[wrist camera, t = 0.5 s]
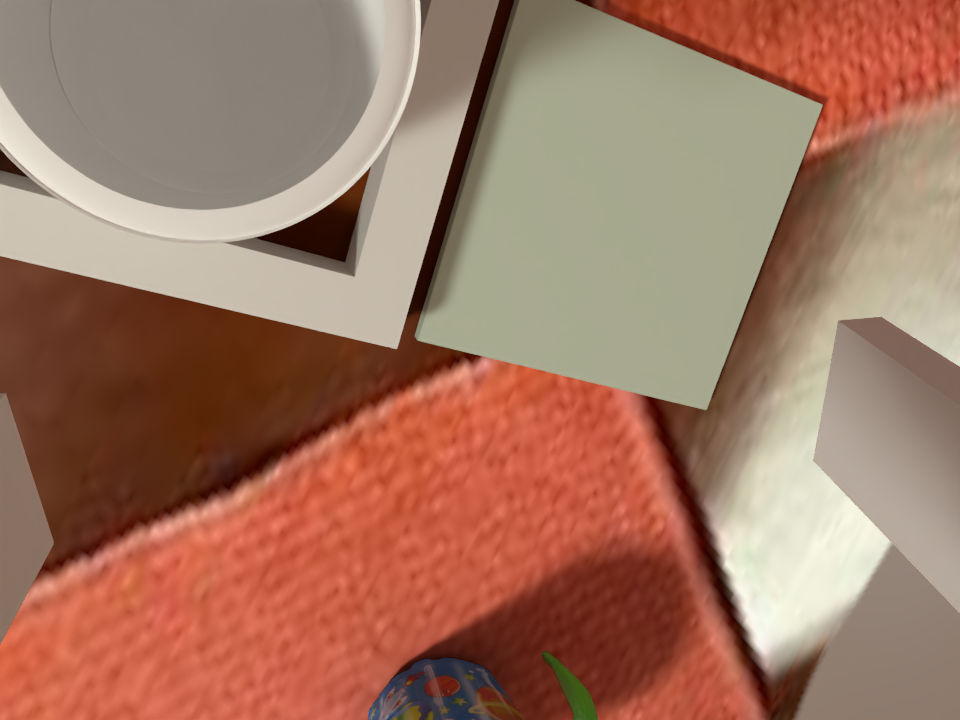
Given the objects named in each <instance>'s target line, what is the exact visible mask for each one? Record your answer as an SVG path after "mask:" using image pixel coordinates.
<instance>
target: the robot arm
mask: <svg viewBox="0 0 960 720" xmlns="http://www.w3.org/2000/svg"><path fill="white" fill-rule="evenodd" d="M813 461H814V462H815V463H816V464H817V465H818V466H819V467H820V468H821V469H822V470H823V471H824V472H825V473H826V474H827V475H828V476H829V477H830V479H831V480H832V481H833V482H834V483H835V484H836V485H837V486H838V487H839V488H840V489H841V490H842V491H843V492H844V493H845V494H846V495H847V496H848V497H849V498H850V499H851V500H852V501H853V502H854V504H855V505H856V506H857V507H858V508H859V509H860V510H861V511H862V512H863V513H864V514H865V515H866V516H867V517H868V518H869V519H870V520H871V521H872V522H873V523H874V524H875V525H876V526H877V527H878V528H879V530H880V531H881V532H882V533H883V534H884V535H885V536H886V537H887V538H888V539H889V540H890V541H891V542H892V543H893V544H894V545H895V546H896V547H897V548H898V549H899V550H900V551H901V552H902V553H903V555H904V556H905V557H906V558H907V559H908V560H909V561H910V562H911V563H912V564H913V565H914V566H915V567H916V568H917V569H918V570H919V571H920V572H921V573H922V574H923V575H924V576H925V577H926V578H927V580H929V582H930V583H931V584H932V585H933V586H934V587H935V588H936V589H937V590H938V591H939V592H940V593H941V594H942V595H943V596H944V597H945V598H946V599H947V600H948V601H949V602H950V603H951V604H952V606H953V607H954V608H955V609H956V610H957V611H958V612H959V613H960V367H959V366H957V365H956V364H954V363H953V362H951V361H950V360H948V359H946V358H945V357H943V356H942V355H940V354H939V353H937V352H935V351H934V350H932V349H931V348H929V347H928V346H926V345H924V344H923V343H921V342H920V341H918V340H917V339H915V338H913V337H912V336H910V335H909V334H907V333H906V332H904V331H902V330H901V329H899V328H898V327H896V326H895V325H893V324H891V323H890V322H888V321H887V320H885V319H884V318H882V317H875V318H864V319H852V320H841V321H838V326H837V331H836V337H835V343H834V348H833V354H832V359H831V365H830V370H829V376H828V382H827V387H826V393H825V398H824V404H823V409H822V415H821V421H820V426H819V432H818V437H817V443H816V448H815V454H814V459H813ZM53 544H54V541H53V538H52V535H51V532H50V529H49V526H48V523H47V520H46V517H45V514H44V510H43V507H42V504H41V501H40V498H39V495H38V492H37V489H36V486H35V483H34V479H33V476H32V473H31V470H30V467H29V464H28V461H27V458H26V455H25V452H24V449H23V445H22V442H21V439H20V436H19V433H18V430H17V427H16V424H15V421H14V418H13V414H12V411H11V408H10V405H9V402H8V399H7V396H6V393H3V394H0V644H1V642H2V640H3V639H4V637H5V635H6V633H7V631H8V629H9V627H10V625H11V623H12V622H13V620H14V618H15V616H16V614H17V612H18V610H19V608H20V606H21V605H22V603H23V601H24V599H25V597H26V595H27V593H28V591H29V589H30V588H31V586H32V584H33V582H34V580H35V578H36V576H37V574H38V572H39V571H40V569H41V567H42V565H43V563H44V561H45V559H46V557H47V555H48V554H49V552H50V550H51V548H52V546H53Z"/></svg>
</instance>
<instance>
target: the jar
mask: <svg viewBox="0 0 960 720" xmlns="http://www.w3.org/2000/svg"><path fill="white" fill-rule="evenodd" d="M420 34H421V10H420V0H0V149H1V150H2V152H3V153H4V154H5V155H6V156H7V157H8V158H9V159H10V160H11V161H12V162H13V163H14V164H15V165H16V166H17V167H18V168H19V169H20V170H21V171H22V172H24V173H25V174H26V175H27V176H28V177H29V178H30V179H32V180H33V181H34V182H35V183H36V184H38V185H39V186H40V187H42V188H43V189H44V190H46V191H47V192H48V193H50V194H51V195H53V196H54V197H56V198H57V199H59V200H60V201H62V202H63V203H65V204H67V205H68V206H70V207H72V208H73V209H75V210H77V211H79V212H81V213H83V214H85V215H86V216H89V217H91V218H93V219H95V220H97V221H99V222H102V223H104V224H106V225H109V226H112V227H114V228H117V229H120V230H123V231H126V232H129V233H133V234H136V235H140V236H144V237H148V238H153V239H158V240H164V241H171V242H181V243H223V242H232V241H239V240H245V239H250V238H254V237H259V236H262V235H266V234H269V233H272V232H275V231H278V230H281V229H284V228H286V227H289V226H291V225H293V224H296V223H298V222H300V221H302V220H304V219H306V218H308V217H310V216H311V215H313V214H315V213H317V212H318V211H320V210H321V209H323V208H325V207H326V206H328V205H329V204H330V203H332V202H333V201H334V200H336V199H337V198H338V197H340V196H341V195H342V194H343V193H345V192H346V191H347V190H348V189H349V188H350V187H351V186H352V185H353V184H354V183H356V182H357V181H358V180H359V179H360V177H361V176H362V175H363V174H364V173H365V172H366V171H367V170H368V169H369V167H370V166H371V165H372V164H373V162H374V161H375V160H376V159H377V157H378V156H379V155H380V153H381V152H382V150H383V149H384V147H385V146H386V144H387V142H388V141H389V139H390V137H391V136H392V134H393V132H394V130H395V128H396V126H397V124H398V122H399V120H400V118H401V116H402V113H403V111H404V109H405V106H406V103H407V101H408V98H409V95H410V92H411V88H412V85H413V81H414V77H415V72H416V67H417V62H418V55H419V47H420Z"/></svg>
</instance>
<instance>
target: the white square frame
mask: <svg viewBox="0 0 960 720" xmlns="http://www.w3.org/2000/svg"><path fill="white" fill-rule="evenodd" d="M498 3H499V0H420V10H421V34H420V47H419V55H418V62H417V67H416V72H415V77H414V81H413V85H412V88H411V92H410V95H409V98H408V101H407V103H406V106H405V109H404V111H403V113H402V116H401V118H400V120H399V122H398V124H397V126H396V128H395V130H394V132H393V134H392V136H391V137H390V139H389V141H388V142H387V144H386V146H385V147H384V149H383V150H382V152H381V153H380V155H379V156H378V157H377V159H376V160H375V161H374V162H373V164H372V166H371V169H370V173H369V176H368V180H367V184H366V187H365V191H364V195H363V198H362V202H361V206H360V209H359V213H358V217H357V220H356V224H355V228H354V231H353V235H352V239H351V242H350V246H349V250H348V253H347V257H346V261H345V262H342V261H338V260H335V259H331V258H327V257H323V256H320V255H316V254H312V253H308V252H305V251H301V250H297V249H293V248H290V247H286V246H282V245H278V244H275V243H271V242H267V241H263V240H260V239H256V238H250V239H245V240H239V241H232V242H223V243H181V242H171V241H164V240H158V239H153V238H148V237H144V236H140V235H136V234H133V233H129V232H126V231H123V230H120V229H117V228H114V227H112V226H109V225H106V224H104V223H102V222H99V221H97V220H95V219H93V218H91V217H89V216H86V215H85V214H83V213H81V212H79V211H77V210H75V209H73V208H72V207H70V206H68V205H67V204H65V203H63V202H62V201H60V200H59V199H57V198H56V197H54V196H53V195H51V194H50V193H48V192H47V191H46V190H44V189H43V188H42V187H40V186H39V185H38V184H36V183H35V182H34V181H33V180H32V179H30V178H28V177H24V176H20V175H16V174H13V173H9V172H5V171H1V170H0V256H3V257H7V258H11V259H16V260H20V261H24V262H28V263H33V264H37V265H41V266H45V267H50V268H54V269H58V270H62V271H67V272H71V273H75V274H79V275H84V276H88V277H92V278H96V279H101V280H105V281H109V282H113V283H118V284H122V285H126V286H130V287H135V288H139V289H143V290H147V291H152V292H156V293H160V294H164V295H169V296H173V297H177V298H181V299H186V300H190V301H194V302H199V303H203V304H207V305H211V306H216V307H220V308H224V309H228V310H233V311H237V312H241V313H245V314H250V315H254V316H258V317H262V318H267V319H271V320H275V321H279V322H284V323H288V324H292V325H296V326H301V327H305V328H309V329H313V330H318V331H322V332H326V333H330V334H335V335H339V336H343V337H347V338H352V339H356V340H360V341H364V342H369V343H373V344H377V345H381V346H386V347H390V348H394V349H397V347H398V344H399V340H400V337H401V333H402V330H403V327H404V323H405V320H406V316H407V313H408V310H409V306H410V303H411V299H412V296H413V293H414V289H415V286H416V282H417V279H418V276H419V272H420V269H421V265H422V262H423V259H424V255H425V252H426V248H427V245H428V241H429V238H430V235H431V231H432V228H433V224H434V221H435V218H436V214H437V211H438V207H439V204H440V201H441V197H442V194H443V190H444V187H445V184H446V180H447V177H448V173H449V170H450V167H451V163H452V160H453V156H454V153H455V150H456V146H457V143H458V139H459V136H460V132H461V129H462V126H463V122H464V119H465V115H466V112H467V109H468V105H469V102H470V98H471V95H472V92H473V88H474V85H475V81H476V78H477V75H478V71H479V68H480V64H481V61H482V58H483V54H484V51H485V47H486V44H487V41H488V37H489V34H490V30H491V27H492V23H493V20H494V17H495V13H496V10H497V6H498Z"/></svg>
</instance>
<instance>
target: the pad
mask: <svg viewBox="0 0 960 720" xmlns="http://www.w3.org/2000/svg"><path fill="white" fill-rule="evenodd" d="M822 106H823V105H822V104H820V103H817V102H815V101H813V100H810V99H808V98H806V97H803V96H801V95H798V94H796V93H794V92H791V91H789V90H787V89H784V88H782V87H779V86H777V85H775V84H772V83H770V82H768V81H765V80H763V79H760V78H758V77H756V76H753V75H751V74H749V73H746V72H744V71H741V70H739V69H737V68H734V67H732V66H730V65H727V64H725V63H722V62H720V61H718V60H715V59H713V58H711V57H708V56H706V55H703V54H701V53H699V52H696V51H694V50H692V49H689V48H687V47H684V46H682V45H680V44H677V43H675V42H673V41H670V40H668V39H665V38H663V37H661V36H658V35H656V34H654V33H651V32H649V31H646V30H644V29H642V28H639V27H637V26H635V25H632V24H630V23H627V22H625V21H623V20H620V19H618V18H616V17H613V16H611V15H608V14H606V13H604V12H601V11H599V10H597V9H594V8H592V7H589V6H587V5H585V4H582V3H580V2H578V1H575V0H514V3H513V7H512V10H511V13H510V17H509V20H508V24H507V27H506V30H505V34H504V37H503V40H502V44H501V47H500V50H499V54H498V57H497V61H496V64H495V67H494V71H493V74H492V77H491V81H490V84H489V88H488V91H487V94H486V98H485V101H484V104H483V108H482V111H481V114H480V118H479V121H478V125H477V128H476V131H475V135H474V138H473V141H472V145H471V148H470V151H469V155H468V158H467V162H466V165H465V168H464V172H463V175H462V178H461V182H460V185H459V188H458V192H457V195H456V199H455V202H454V205H453V209H452V212H451V215H450V219H449V222H448V225H447V229H446V232H445V236H444V239H443V242H442V246H441V249H440V252H439V256H438V259H437V262H436V266H435V269H434V273H433V276H432V279H431V283H430V286H429V289H428V293H427V296H426V299H425V303H424V306H423V310H422V313H421V316H420V320H419V323H418V326H417V330H416V333H415V337H416V339H417V340H418V341H422V342H426V343H430V344H434V345H438V346H443V347H447V348H451V349H455V350H459V351H463V352H467V353H472V354H476V355H480V356H484V357H488V358H492V359H496V360H501V361H505V362H509V363H513V364H517V365H521V366H525V367H530V368H534V369H538V370H542V371H546V372H550V373H555V374H559V375H563V376H567V377H571V378H575V379H579V380H584V381H588V382H592V383H596V384H600V385H604V386H608V387H613V388H617V389H621V390H625V391H629V392H633V393H638V394H642V395H646V396H650V397H654V398H658V399H662V400H667V401H671V402H675V403H679V404H683V405H687V406H691V407H696V408H700V409H704V410H707V407H708V405H709V402H710V399H711V397H712V394H713V392H714V389H715V386H716V384H717V381H718V378H719V376H720V373H721V371H722V368H723V365H724V363H725V360H726V357H727V355H728V352H729V350H730V347H731V344H732V342H733V339H734V337H735V334H736V331H737V329H738V326H739V323H740V321H741V318H742V316H743V313H744V310H745V308H746V305H747V302H748V300H749V297H750V295H751V292H752V289H753V287H754V284H755V282H756V279H757V276H758V274H759V271H760V268H761V266H762V263H763V261H764V258H765V255H766V253H767V250H768V248H769V245H770V242H771V240H772V237H773V234H774V232H775V229H776V227H777V224H778V221H779V219H780V216H781V213H782V211H783V208H784V206H785V203H786V200H787V198H788V195H789V193H790V190H791V187H792V185H793V182H794V179H795V177H796V174H797V172H798V169H799V166H800V164H801V161H802V159H803V156H804V153H805V151H806V148H807V145H808V143H809V140H810V138H811V135H812V132H813V130H814V127H815V124H816V122H817V119H818V117H819V114H820V111H821V109H822Z"/></svg>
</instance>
